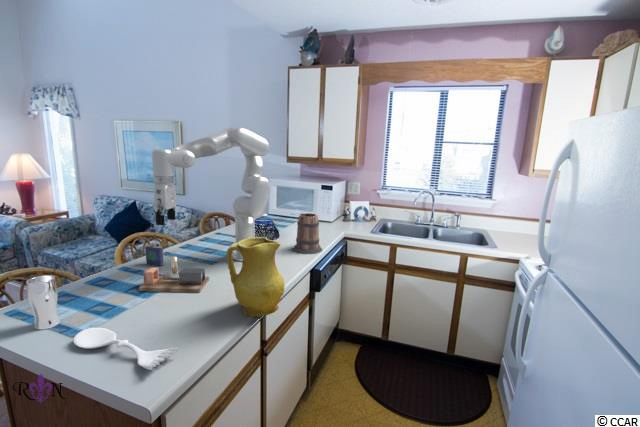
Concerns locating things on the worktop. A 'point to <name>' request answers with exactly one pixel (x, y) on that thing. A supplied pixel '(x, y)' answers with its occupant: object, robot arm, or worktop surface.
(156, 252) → the flask
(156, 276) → the socket block
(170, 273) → the brushed metal peg
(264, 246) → the pitcher
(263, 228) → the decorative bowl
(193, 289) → the base board
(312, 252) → the tankard
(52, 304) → the beer glass
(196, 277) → the outer sleeve
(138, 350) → the spoon
